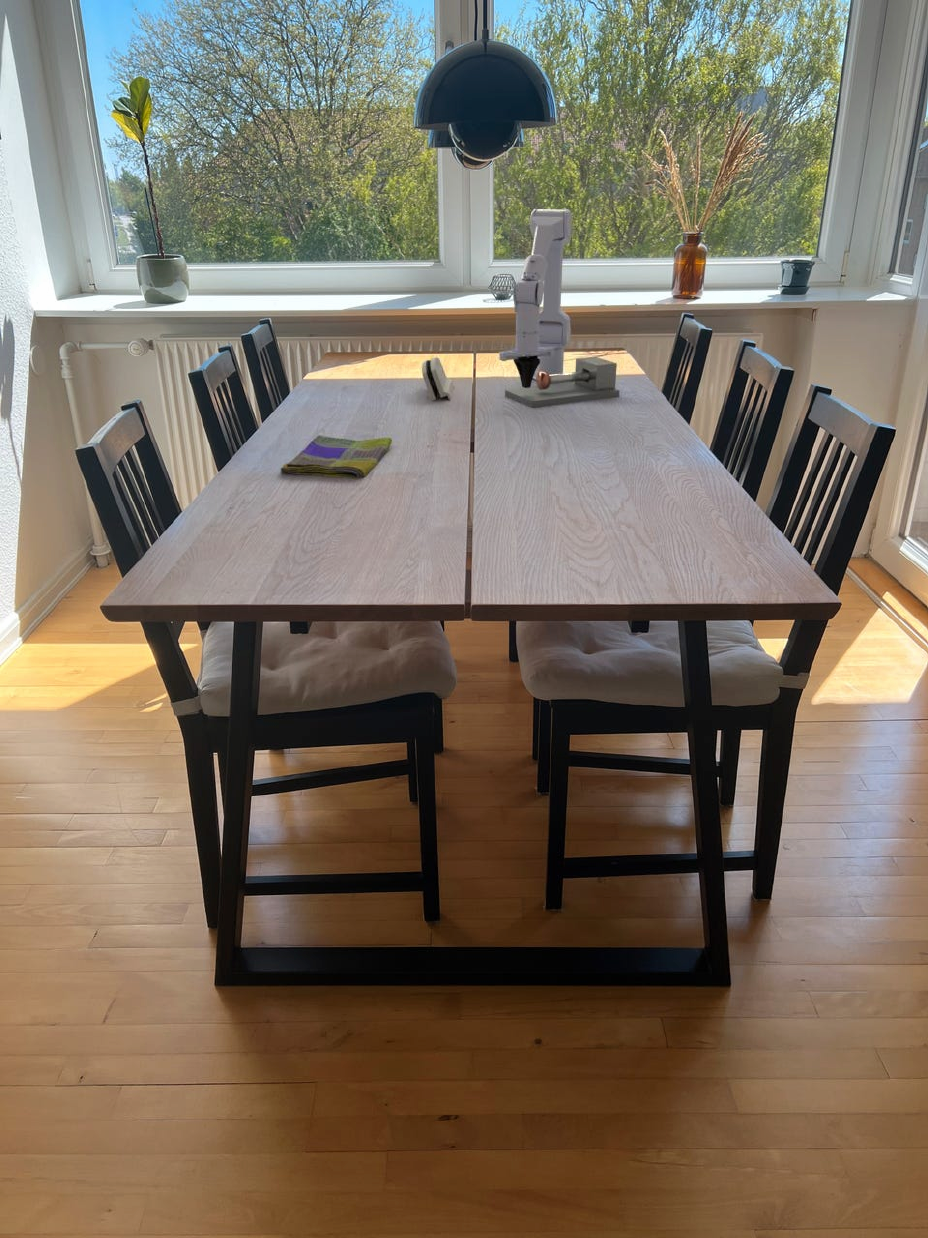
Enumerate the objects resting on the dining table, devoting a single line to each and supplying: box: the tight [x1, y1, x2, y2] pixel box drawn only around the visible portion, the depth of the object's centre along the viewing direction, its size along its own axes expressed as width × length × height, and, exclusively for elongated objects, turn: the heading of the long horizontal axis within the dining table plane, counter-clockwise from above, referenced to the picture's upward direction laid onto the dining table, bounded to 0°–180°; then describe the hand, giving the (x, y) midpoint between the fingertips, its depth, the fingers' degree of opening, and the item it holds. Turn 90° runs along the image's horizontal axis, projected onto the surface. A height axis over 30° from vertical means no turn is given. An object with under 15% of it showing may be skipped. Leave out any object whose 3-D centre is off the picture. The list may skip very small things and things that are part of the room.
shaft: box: [535, 371, 589, 390], centre depth 240 cm, size 4×15×4 cm, turn 116°
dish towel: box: [280, 434, 393, 479], centre depth 192 cm, size 18×24×3 cm
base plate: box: [504, 382, 620, 408], centre depth 241 cm, size 14×26×2 cm, turn 116°
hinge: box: [421, 357, 455, 401], centre depth 244 cm, size 17×5×10 cm, turn 178°
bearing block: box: [574, 356, 618, 391], centre depth 243 cm, size 10×6×6 cm, turn 26°
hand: (526, 386), depth 236 cm, fingers closed
